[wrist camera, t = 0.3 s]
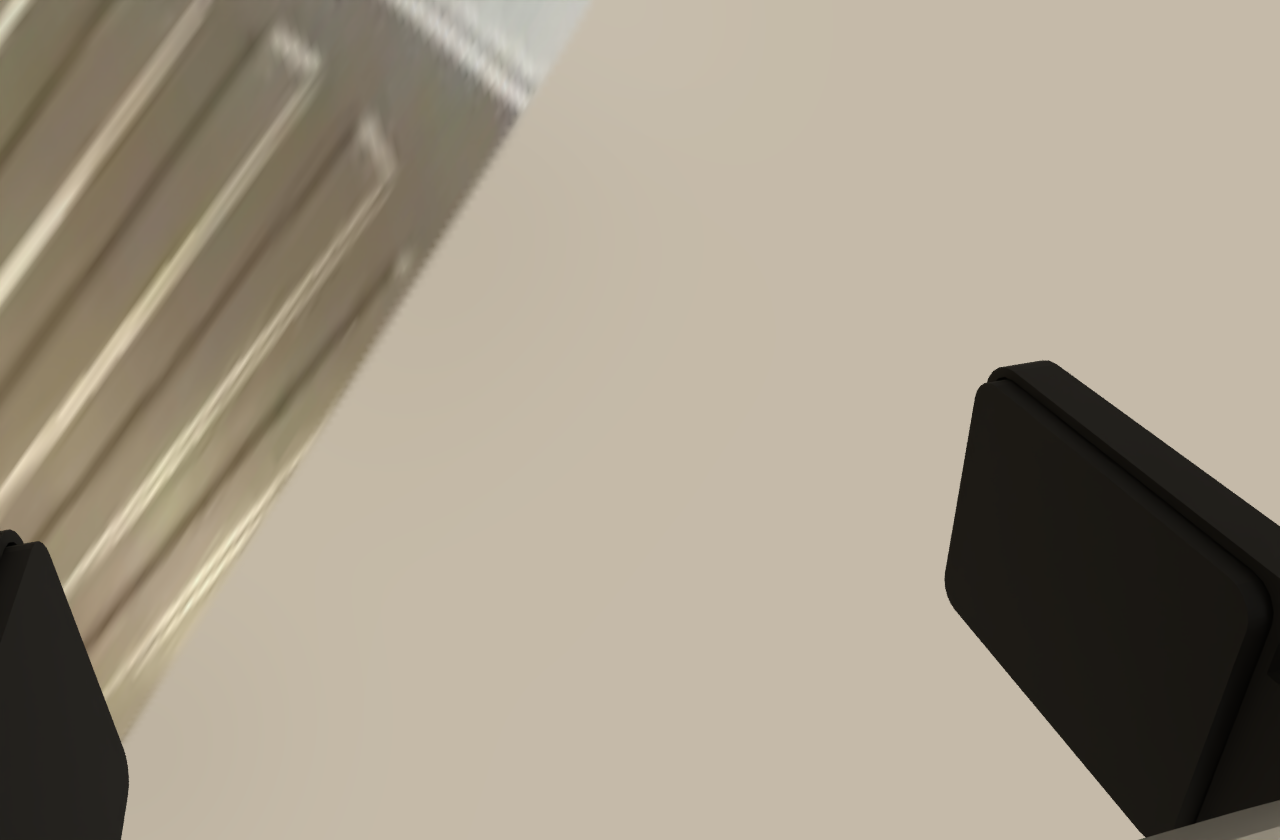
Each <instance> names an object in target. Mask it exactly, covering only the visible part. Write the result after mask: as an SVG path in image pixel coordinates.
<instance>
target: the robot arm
mask: <svg viewBox="0 0 1280 840" xmlns="http://www.w3.org/2000/svg"><path fill="white" fill-rule="evenodd" d="M945 589H946V592H947V596H948V598H949V601H950V603H951V605H952V606H953V608H954V609H955V610H956V611H957V613H958V614H959V615H960V616H961V618H962V619H963V620H964V621H965V622H966V624H967V625H968V626H969V627H970V629H971V630H972V631H973V632H974V633H975V634H976V636H977V637H978V638H979V639H980V640H981V642H982V643H983V644H984V645H985V646H986V648H987V649H988V650H989V651H990V653H991V654H992V655H993V656H994V657H995V658H996V660H997V661H998V662H999V663H1000V665H1001V666H1002V667H1003V668H1004V669H1005V671H1006V672H1007V673H1008V674H1009V675H1010V676H1011V678H1012V679H1013V680H1014V681H1015V682H1016V684H1017V685H1018V686H1019V687H1020V689H1021V690H1022V691H1023V692H1024V693H1025V695H1026V696H1027V697H1028V698H1029V699H1030V701H1031V702H1033V704H1034V705H1035V706H1036V708H1037V709H1038V710H1039V711H1040V713H1041V714H1042V715H1043V716H1044V717H1045V718H1046V720H1047V721H1048V722H1049V723H1050V724H1051V726H1052V727H1053V728H1054V729H1055V731H1056V732H1057V733H1058V734H1059V735H1060V737H1061V738H1062V739H1063V740H1064V741H1065V743H1066V744H1067V745H1068V746H1069V747H1070V749H1071V750H1072V751H1073V752H1074V753H1075V755H1076V756H1077V757H1078V758H1079V759H1080V761H1081V762H1082V763H1083V764H1084V765H1085V767H1086V768H1087V769H1088V770H1089V771H1090V773H1091V774H1092V775H1093V776H1094V777H1095V779H1096V780H1097V781H1098V782H1099V783H1100V785H1101V786H1102V787H1103V788H1104V789H1105V791H1106V792H1107V793H1108V794H1109V795H1110V796H1111V798H1112V799H1113V800H1114V801H1115V803H1116V804H1117V805H1118V806H1119V807H1120V809H1121V810H1122V811H1123V812H1124V813H1125V815H1126V816H1127V817H1128V818H1129V819H1130V821H1131V822H1132V823H1133V824H1134V825H1135V827H1136V828H1137V829H1138V830H1139V831H1140V832H1141V833H1142V834H1143V835H1144V836H1145V837H1146V838H1143V839H1140V840H1280V526H1278V525H1277V524H1276V523H1274V522H1273V521H1272V520H1270V519H1269V518H1268V517H1266V516H1265V515H1263V514H1262V513H1261V512H1259V511H1258V510H1257V509H1255V508H1254V507H1252V506H1251V505H1250V504H1248V503H1247V502H1245V501H1244V500H1243V499H1241V498H1240V497H1239V496H1237V495H1236V494H1235V493H1233V492H1232V491H1230V490H1229V489H1227V488H1226V487H1225V486H1223V485H1222V484H1221V483H1219V482H1218V481H1217V480H1215V479H1214V478H1212V477H1211V476H1210V475H1208V474H1207V473H1205V472H1204V471H1203V470H1201V469H1200V468H1199V467H1197V466H1196V465H1194V464H1193V463H1192V462H1190V461H1189V460H1188V459H1186V458H1185V457H1184V456H1182V455H1181V454H1179V453H1178V452H1177V451H1175V450H1174V449H1173V448H1171V447H1170V446H1168V445H1167V444H1166V443H1164V442H1163V441H1162V440H1160V439H1159V438H1157V437H1156V436H1155V435H1153V434H1152V433H1151V432H1149V431H1148V430H1146V429H1145V428H1144V427H1142V426H1141V425H1139V424H1138V423H1136V422H1135V421H1134V420H1133V419H1131V418H1130V417H1128V416H1127V415H1126V414H1124V413H1123V412H1122V411H1120V410H1119V409H1117V408H1116V407H1115V406H1113V405H1112V404H1111V403H1109V402H1108V401H1106V400H1105V399H1104V398H1102V397H1101V396H1100V395H1098V394H1097V393H1095V392H1094V391H1093V390H1091V389H1090V388H1088V387H1087V386H1086V385H1084V384H1083V383H1082V382H1080V381H1079V380H1077V379H1076V378H1075V377H1073V376H1072V375H1071V374H1069V373H1068V372H1066V371H1065V370H1064V369H1062V368H1061V367H1060V366H1058V365H1057V364H1055V363H1053V362H1051V361H1036V362H1030V363H1024V364H1018V365H1012V366H1006V367H1000V368H998V369H996V370H995V371H993V372H992V374H991V375H990V377H989V378H988V381H987V383H984V384H983V385H981V386H980V387H979V389H978V390H977V393H976V396H975V401H974V407H973V413H972V418H971V424H970V430H969V436H968V442H967V448H966V453H965V459H964V465H963V472H962V478H961V483H960V489H959V495H958V501H957V507H956V513H955V518H954V525H953V530H952V535H951V541H950V547H949V553H948V559H947V565H946V570H945ZM128 788H129V775H128V765H127V760H126V755H125V752H124V749H123V746H122V744H121V741H120V738H119V736H118V733H117V730H116V728H115V725H114V723H113V720H112V717H111V715H110V712H109V709H108V707H107V704H106V701H105V699H104V696H103V694H102V691H101V688H100V686H99V683H98V680H97V678H96V675H95V673H94V670H93V667H92V665H91V662H90V659H89V657H88V654H87V651H86V649H85V646H84V644H83V641H82V638H81V636H80V633H79V630H78V628H77V625H76V623H75V620H74V617H73V615H72V612H71V609H70V607H69V604H68V601H67V599H66V596H65V594H64V591H63V588H62V586H61V583H60V580H59V578H58V575H57V573H56V570H55V567H54V565H53V562H52V559H51V557H50V554H49V552H48V550H47V548H46V547H45V546H44V544H43V543H41V542H39V541H37V542H31V543H25V544H24V543H23V541H22V539H21V538H20V537H19V535H18V534H17V533H16V532H15V531H12V530H4V531H0V840H121V835H122V829H123V823H124V816H125V810H126V803H127V797H128Z"/></svg>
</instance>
